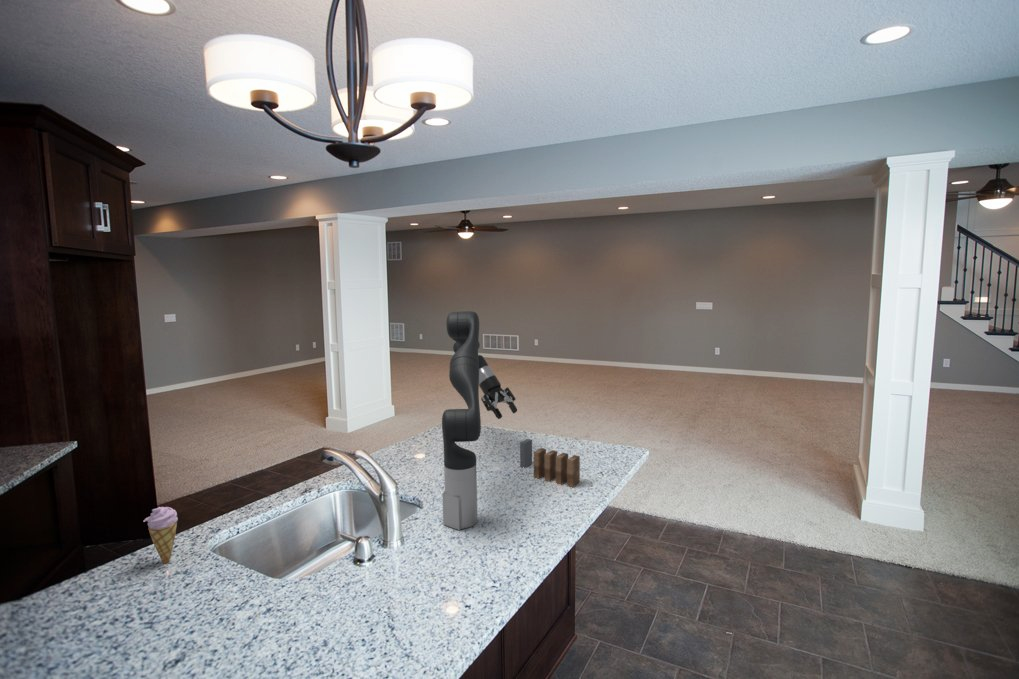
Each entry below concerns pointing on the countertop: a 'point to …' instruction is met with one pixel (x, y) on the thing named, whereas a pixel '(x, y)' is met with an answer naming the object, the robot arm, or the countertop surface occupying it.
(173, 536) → the ice cream cone
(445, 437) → the robot arm
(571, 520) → the countertop surface
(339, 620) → the countertop surface
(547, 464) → the domino
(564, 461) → the domino
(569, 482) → the domino
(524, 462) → the domino
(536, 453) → the domino
